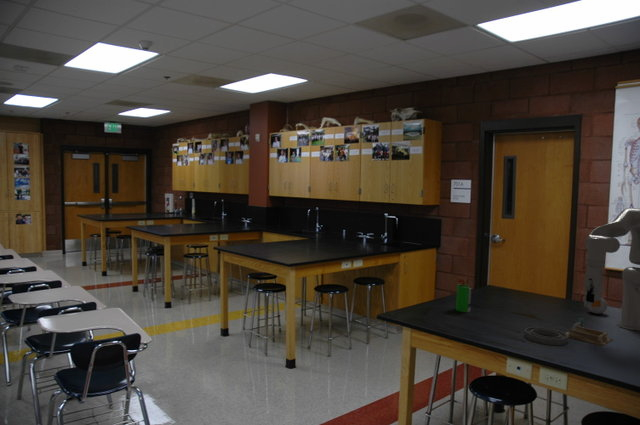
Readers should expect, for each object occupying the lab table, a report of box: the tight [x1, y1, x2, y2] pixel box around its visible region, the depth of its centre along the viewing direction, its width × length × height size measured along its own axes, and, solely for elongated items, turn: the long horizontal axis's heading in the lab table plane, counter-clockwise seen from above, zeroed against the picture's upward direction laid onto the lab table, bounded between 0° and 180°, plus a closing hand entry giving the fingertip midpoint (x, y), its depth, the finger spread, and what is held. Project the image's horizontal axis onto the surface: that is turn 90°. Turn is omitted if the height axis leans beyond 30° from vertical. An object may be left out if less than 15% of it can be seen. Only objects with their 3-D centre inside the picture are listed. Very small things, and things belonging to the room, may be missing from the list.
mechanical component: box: [524, 326, 569, 346], centre depth 221 cm, size 18×18×3 cm
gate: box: [571, 317, 585, 330], centre depth 235 cm, size 12×2×4 cm, turn 133°
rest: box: [564, 326, 613, 347], centre depth 224 cm, size 14×18×4 cm
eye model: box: [587, 297, 608, 315], centre depth 269 cm, size 10×10×10 cm
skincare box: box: [583, 282, 603, 309], centre depth 221 cm, size 6×4×12 cm
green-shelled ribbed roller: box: [455, 278, 472, 313], centre depth 267 cm, size 9×8×18 cm
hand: (592, 300), depth 221 cm, fingers closed on skincare box, 7 cm apart
